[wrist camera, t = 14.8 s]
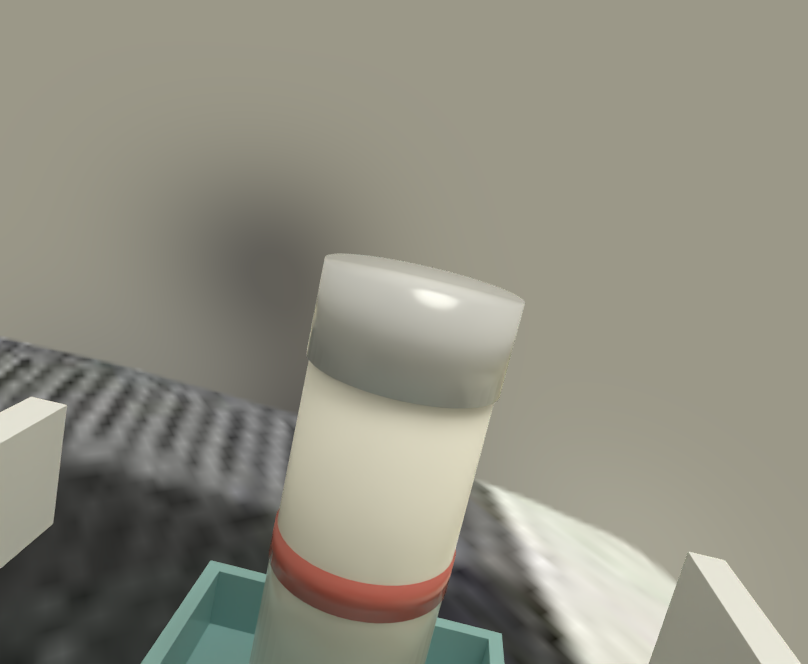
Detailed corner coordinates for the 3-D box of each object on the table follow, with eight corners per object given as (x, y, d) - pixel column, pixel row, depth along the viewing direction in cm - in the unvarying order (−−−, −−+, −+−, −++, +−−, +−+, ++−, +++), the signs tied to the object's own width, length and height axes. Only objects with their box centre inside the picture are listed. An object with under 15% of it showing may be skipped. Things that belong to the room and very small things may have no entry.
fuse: (201, 835, 18) (310, 269, 14) (248, 692, 22) (337, 246, 19) (391, 871, 18) (541, 321, 14) (396, 722, 23) (509, 284, 19)
